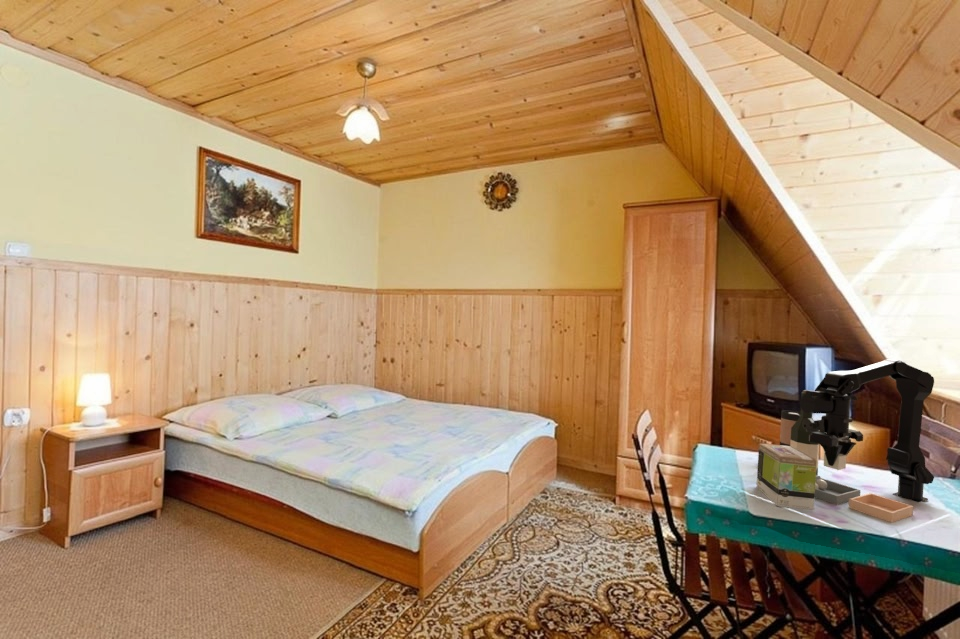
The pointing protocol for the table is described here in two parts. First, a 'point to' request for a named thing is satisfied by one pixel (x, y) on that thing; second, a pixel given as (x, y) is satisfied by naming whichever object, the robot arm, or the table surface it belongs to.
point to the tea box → (786, 476)
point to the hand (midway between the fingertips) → (834, 464)
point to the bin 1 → (836, 492)
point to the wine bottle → (804, 437)
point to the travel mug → (787, 426)
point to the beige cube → (837, 462)
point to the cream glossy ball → (821, 484)
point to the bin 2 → (881, 507)
